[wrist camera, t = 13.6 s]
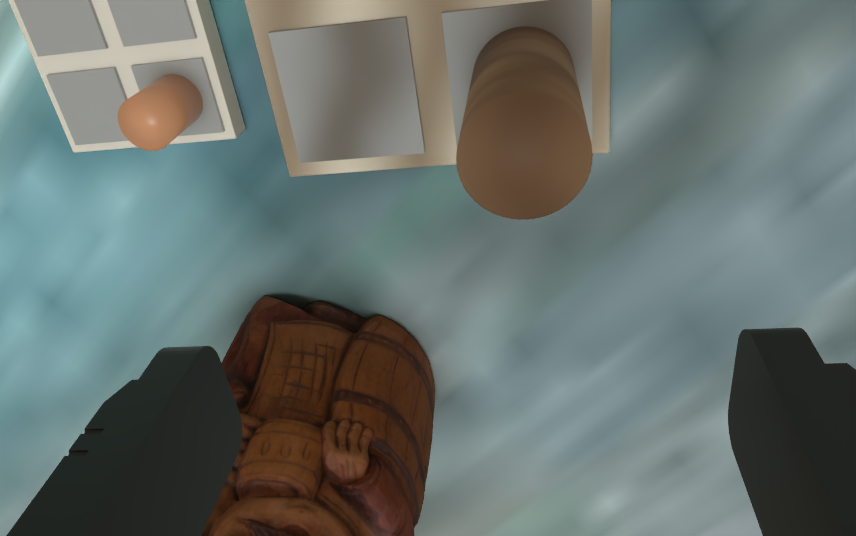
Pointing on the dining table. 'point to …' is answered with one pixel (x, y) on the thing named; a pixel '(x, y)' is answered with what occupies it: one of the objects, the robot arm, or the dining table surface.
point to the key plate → (132, 71)
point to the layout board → (404, 73)
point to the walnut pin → (524, 127)
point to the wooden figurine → (325, 425)
